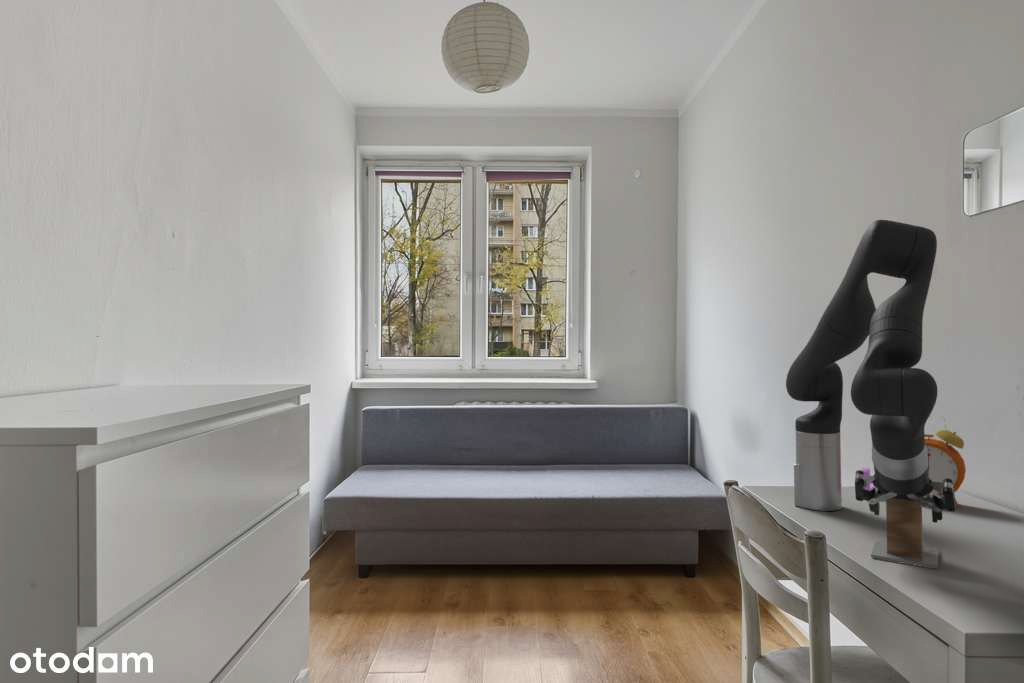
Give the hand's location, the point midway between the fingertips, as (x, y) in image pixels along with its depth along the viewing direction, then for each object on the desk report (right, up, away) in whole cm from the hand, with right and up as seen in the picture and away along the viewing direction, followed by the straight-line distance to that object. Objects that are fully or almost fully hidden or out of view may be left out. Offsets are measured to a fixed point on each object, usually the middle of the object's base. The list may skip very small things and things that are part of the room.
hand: (905, 514), depth 107 cm
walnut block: (0, -7, 0) cm, 7 cm away
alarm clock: (+28, -7, +34) cm, 45 cm away
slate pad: (0, -7, 0) cm, 7 cm away
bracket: (+22, -8, +44) cm, 50 cm away
